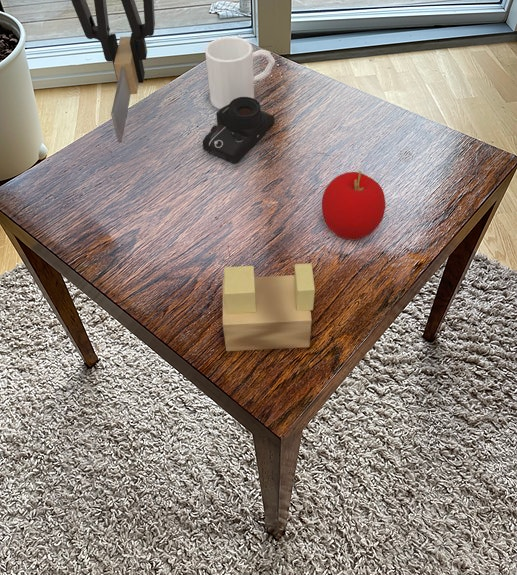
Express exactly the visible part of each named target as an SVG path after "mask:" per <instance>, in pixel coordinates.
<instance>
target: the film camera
mask: <svg viewBox="0 0 517 575" xmlns="http://www.w3.org/2000/svg"><path fill="white" fill-rule="evenodd" d="M215 115H216V124H214V125H213V126H212V127H211V128H210V131H209V132H208V133H207V134H206V135H205V136H204V138H203V140H202V149H203V150H204V151H206V152H208V153H209V154H212V155H214V156H217V157H219V158H221V159H223V160H225V161H226V162H230V163H232V164H238V163H239V162H240V161H241V160H242V159H243V158H244V157H245V156H246V155H247V154H248V153H249V152H250V151H251V150H252V149H253V148H254V147H256V145H257V144H258V143H259V142H260V141H261V140H262V139H263V138H264V137H265V136H266V133H267V132H268V131H269V130H270V129H271V128H272V126H273V125H274V123H275V115H273V114H271V113H268V112H266V111H263V110H261V104H260V102H259V101H258V100H256V99H255V98H254V99H253V98H250V97H239V98H236V99H234V100H232V101H231V102H230V104H229V105H227V106H225V107H223V108H221V109H218V110H217V111H216V114H215Z"/></svg>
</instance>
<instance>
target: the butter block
mask: <svg viewBox="0 0 517 575" xmlns="http://www.w3.org/2000/svg"><path fill="white" fill-rule="evenodd" d="M223 269H224V270H223V279H224V294H225V303H226V311H227V314H234V313H253V312H256V300H255V280H254V277H255V266H254V265H242V266H225V267H224V268H223Z"/></svg>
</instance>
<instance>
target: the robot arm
mask: <svg viewBox="0 0 517 575" xmlns="http://www.w3.org/2000/svg"><path fill="white" fill-rule="evenodd" d="M70 1H71V4H72V6H73V8H74V11H75V13H76V16H77V18H78V21H79V23H80V26H81V28H82V31H83V33H84V36H85V37H86V39H88V40H93V39H95V40H98V42H99V43H100V45H101V48H102V53H103V57H104V59H105V61H106V62H109V63H110V62H112V65H113V69H114V73H115V77H116V81H117V82H118V79H117V75H116V71H115V66H114V62H115V57H116V53H117V49H118V44H119V42H118V38H117V34H116V33H110V32H111V27H110V22H109V15H108V5H107V0H93V4H94V11H95V12H94V13H95V20H96V22H95V20H94V17H93V15H92V12H91V10H90V7H89V5H88V2H87V0H70ZM142 3H143V4H142V5H143V17H144V18H143V20H144V23H143V22H142V20H141V17H140V14H139V10H138V7H137V3H136V0H121V4H122V7H123V10H124V13H125V16H126V19H127V21H128V25H129V28H130V31H131V33H130V36H131V38H130V46H131V51H132V55H133V60H134V64H135V69H136V73H137V78H138V83H139V84H143V83H144V82H145V74H146V72H145V66H144V63H143V61H146V60H147V57H148V56H147V55H148V48H147V43H146V37H152V36H154V33H155V27H156V18H155V15H156V14H155V0H142Z"/></svg>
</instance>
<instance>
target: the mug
mask: <svg viewBox="0 0 517 575" xmlns="http://www.w3.org/2000/svg"><path fill="white" fill-rule="evenodd" d="M253 50H254V48H253V45H252V44H251V43H250V42H249V41H248V40H247V39H244V38H242V37H239V36H222V37H218V38H216V39H214V40H211V41H210V42H209V43H208V44H207V45H206V47H205V48H204V52H205V53H204V54H205V61H206V71H207V72H206V73H207V79H208V80H207V81H208V91H209V98H210V100H209V101H210V103H211V105H212V106H213V107H214V108H216V109H218V110H220V109H221V108H223V107H225V106H227V105H229V104H230V102H231V101H232V100H234V99H236V98H239V97H250V98H253V99H255V83H256V82H260V81H262V80H263V79H265V78H266V77H268V76H269V75H270V73H271V71H272V69H273V67H274V65H275V64H276V60H275V58H274V57H273V55H272V54H271V51H269V50H266V49H262V48H261V49H259V50H255V51H253ZM259 57H262V58H265V59H266V60H267V62H268V63H267V64H266V67H265V69H264V70H263V71H262V72H260V73H258V74H256V75H254V59H255V58H259Z"/></svg>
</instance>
